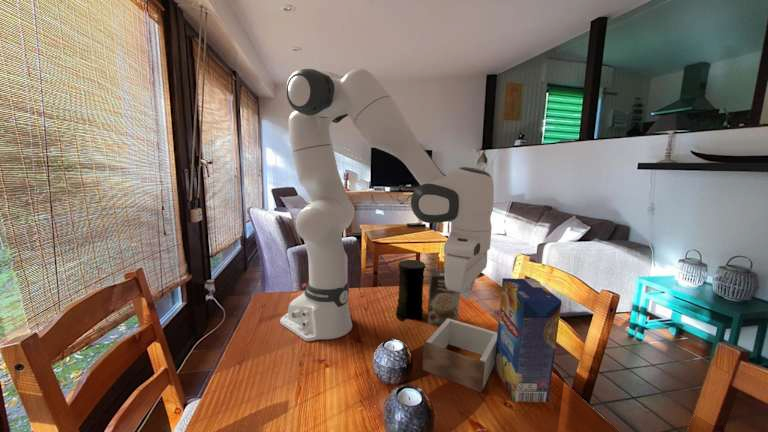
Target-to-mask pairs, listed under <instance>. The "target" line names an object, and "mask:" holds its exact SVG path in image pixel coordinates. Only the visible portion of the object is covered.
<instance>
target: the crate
mask: <svg viewBox="0 0 768 432" xmlns="http://www.w3.org/2000/svg"><path fill="white" fill-rule="evenodd" d="M425 342H427V343H430V344H433V345H436V346H438V347H441V348H444V349H447V347H448V345H449V346H454V347H457V348H459V349H461V350H462V349H463V350H466V351H468V352H471V353H474V354H478V355H480V356H481V357H480V359H479V361H482V362H485V367H484V378H483V389H485V385H486V383H487V382H488V379H489V377H490V375H491V373H492V371H493V369H494V368H495V367H494V362H495V352H496V342H497V331H493V330H489V329H486V328H483V327H480V326H476V325H473V324H469V323H466V322H462V321H459V320H457V321H456V320H452V319H449V318H447V319H446V320H445V322H444V323H443V324H442V325H441V326H440V325H439V327H438V328H437V329H436V330H435V331H434V332H433V333H432V334H431V335H430V337H428V339H427V340H426V341H425Z"/></svg>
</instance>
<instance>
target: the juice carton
mask: <svg viewBox="0 0 768 432" xmlns="http://www.w3.org/2000/svg"><path fill="white" fill-rule="evenodd" d="M562 302H563V301H562V300H561V299H560V298H559V297H558V296H556V295H555V294H554V293H552V292H551V291H550V290H549V289H548V288H547V287H546V286H544V285H542V283H540V282H539V281H538V280H537V279H535V278H508V277H502V283H501V291H500V301H499V303H500V304H499V313H498V322H497V323H498V324H497V331H496V332H497V342H496V352H495V362H494V367H493V368H494V369H495V371H496V373H497V374H498V376H499V378H500V380H501V382H502V384H503V386H504V387H505V389H506V392H507V393H508V395H509V397H510V398H511V400H512V402H517V403H518V402H522V403H530V402H531V403H549V399H550V391H551V383H552V376H553V367H554V362H555V354H556V353H555V352H556V347H557V338H558V333H559V332H558V330H559V323H560V316H561V309H562V308H561V307H562Z"/></svg>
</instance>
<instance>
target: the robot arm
mask: <svg viewBox="0 0 768 432" xmlns="http://www.w3.org/2000/svg"><path fill="white" fill-rule="evenodd" d="M285 95H286V100H287V101H288V104H289V105H290V107H291V108H292V109H293V111H292V113H290V115H289V117H288V136H289V141H290V142H289V143H290V149H291V152H292V156H293V157H292V158H293V161H294V165H295V169H296V175H297V178H298V179H297V180H298V181H299V183H300V184H301V185H302V186H303V187H304V189H305V190H306V192H307V195H308V196H309V198H310V201H311V202H309V203H308V204H307V205H306V206H304V208H302V209H301V210H300V211H299V213H298V214H297V216H296V219H295V228H296V231H297V233H298V235H299V236H300V238H301V239H302V240H303V241H304V245H305V248H306V249H305V250H306V253H307V259H308V281H307V282H304V283H302V284H301V288H303V289H304V288H305V290H304V292H303V293H301V294H300V295H298V296H297V297H296V298H294V299H292V300H291V301H290V303H289V305H288V309H287V313H285V314H284V315H283V316H282V317H281V318H280V320H279V323H280V325H281V326H283V327H284V328H286V329H288V330H289V331H291V333H294V334H295V335H296V336H298V337H300V338H301V339H302V340H304V341H306V342H312V341H317V340H333V339H334V340H335V339H338V338H341V337H343V336H346V335H348V333H349V332H350V331H352V329H353V322H352V318H351V314H350V307H349V295H350V292H349V291H350V286H349V280H348V255H347V253H346V251H345V248H344V243H343V231H345V230H347V229H348V228H349V227H350V226H351V224H352V222H353V220H354V218H355V213H356V212H355V210H356V209H355V206H354V205H353V202H351V200H350V198H349V196H348V194H347V190H346V187H345V186H344V184H343V181H342V179H341V176H340V173H339V169H338V164H337V161H336V156H335V151H334V147H333V142H332V138H331V135H330V126H331V123H335V124H338V123H339V122H341V121H342V120H343V119H345V118H347V117H349V118H350V120H351V122H352V124H353V125H354V126H355V128H356V129H357V130H358V132H359V134H360V135H361V137H363V138H364V139H365V141H367V142H368V143H369V145H370V146H372V147H373V148H375V149H377V150H381V151H382V152H383V151H384V152H385V153H388V154H390V155H391V156H393V157H395V158H397V159H398V160H399V161H401V162H402V163H403V164H404V165H405V167H406V168H407V169H408V170H409V172H410V173H411V174H412V175H413V177H414V179H415V180H416V181H417V183H419V186H417V187H416V188H415V189H414V191H413V192H412V194H411V198H410V207H411V210H412V211H411V212H412V213H413V215H414V216H415V217H416V218H417V219H418V220H420V221H421V222H423V223H426V224H438V223H446V222H450V223H451V225H450V226H451V228H450V229H451V230H450V233H449V236H448V238H447V240H446V241H445V243H444V245H443V253H444V254H446V255H445V260H444V270H445V286H446V288H447V289H448V290H451V291H455V292H460V298H461V299H465V300H468V299H469V298H470V297H472V295H473V290H474V286H475V283H476V279H477V277H478V276H479V275H481V273H482V272H483V271H484V270H485V269H486V268H487V264H488V251H489V250H490V249H491V241H492V239H491V238H492V222H491V218H492V213H493V210H494V202H495V201H494V200H495V198H494V197H495V196H494V195H495V193H494V191H495V189H494V181H493V180H494V179H493V177H492V176H491V174H490V173H489V172H487V171H485V170H483V169H479V168H473V167H467V166H460V167H458V168H457V169H456V170H454V171H453V172H451V173H449V174H447V175H446V174H445V173H444V172H443V171H442V170H440V168H439V167H438V166H437V164H436V163H435V161H434V160H433V159H432V158H431V156H430V155H429V153H428V152H427V151H426V150H425V148H424V147H423V146H422V144H421V143H420V141H419V140H418V138H417V137H416V135H415V133H414V132H413V130H412V129H411V127H410V125H409V123H408V122H407V120H406V118H405V116H404V114H403V113H402V111H401V109H400V108H399V106H398V105H397V103H396V101H395V100H394V98H393V97H392V96H391V94H390V93H389V91H388V90H387V88H385V86H384V85H383V84H382V83H381V82H380V80H379V79H378V78H376V77H375V76H374V75H373V74H372V73H371V72H370V71H369V70H367V69H364V68H354V69H352V70H350V71H348V72H347V73H346V74H345V75H340V74H338V73H334V72H332V71H328V70H327V71H324V70H317V69H314V68H303V69H302V68H301V69H298V70H295V71H294V72H292V73H291V75H289V78H288V79H287V82H286V87H285Z"/></svg>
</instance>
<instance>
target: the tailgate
mask: <svg viewBox="0 0 768 432" xmlns="http://www.w3.org/2000/svg"><path fill="white" fill-rule="evenodd" d="M422 351H423V353H422V371H424V372H427V373H430V374H433V375H435V376H438V377H441V378H443V379H446V380H447V381H451V382H452V383H456V384H458V385H461V386H463V387H466V388H469V389H471V390H474V391H475V392H479V393H483V392H482V391H483V390H484V388H483V378H484V367H485V362H482V361H480V359H476V358H473V357H470V356H467V355H465V354H462V353H459V352H455V351H453V350H449V349H447V348H445V349H444V348H441V347H438V346H436V345H433V344H430V343H427V342H426V341H425V342H424V343H423V349H422Z"/></svg>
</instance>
